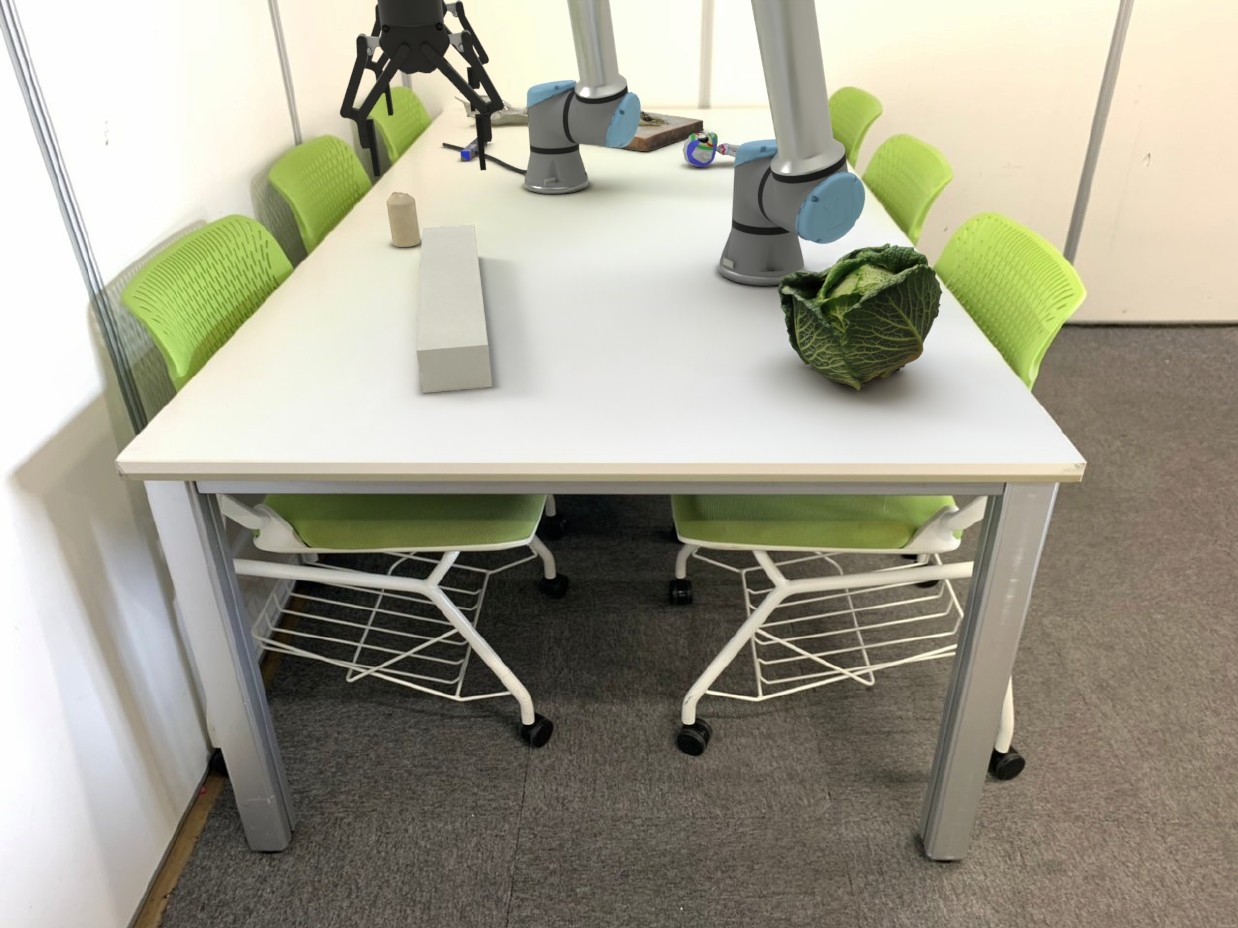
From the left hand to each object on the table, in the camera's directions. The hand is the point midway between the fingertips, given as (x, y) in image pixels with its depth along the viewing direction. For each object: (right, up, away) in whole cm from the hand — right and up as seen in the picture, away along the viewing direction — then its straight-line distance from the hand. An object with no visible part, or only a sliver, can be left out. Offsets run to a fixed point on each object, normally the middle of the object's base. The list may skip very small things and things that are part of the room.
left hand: (432, 112), depth 150 cm
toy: (+63, +18, +80) cm, 103 cm away
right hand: (+7, -21, -33) cm, 39 cm away
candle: (-11, -15, +30) cm, 36 cm away
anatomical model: (-6, +46, +126) cm, 134 cm away
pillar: (-8, +26, +95) cm, 99 cm away
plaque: (+36, +36, +109) cm, 120 cm away
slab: (+4, -34, -1) cm, 34 cm away
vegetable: (+65, -46, -21) cm, 82 cm away
